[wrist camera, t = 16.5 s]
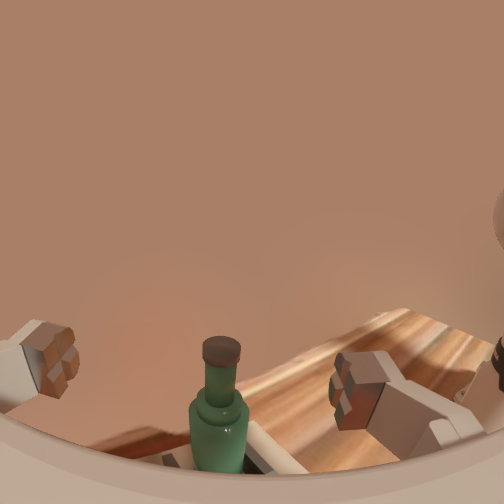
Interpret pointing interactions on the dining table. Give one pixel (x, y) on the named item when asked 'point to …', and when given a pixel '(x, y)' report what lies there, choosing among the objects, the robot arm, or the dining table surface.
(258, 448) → the bottle stand
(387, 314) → the dining table surface
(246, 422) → the bottle
